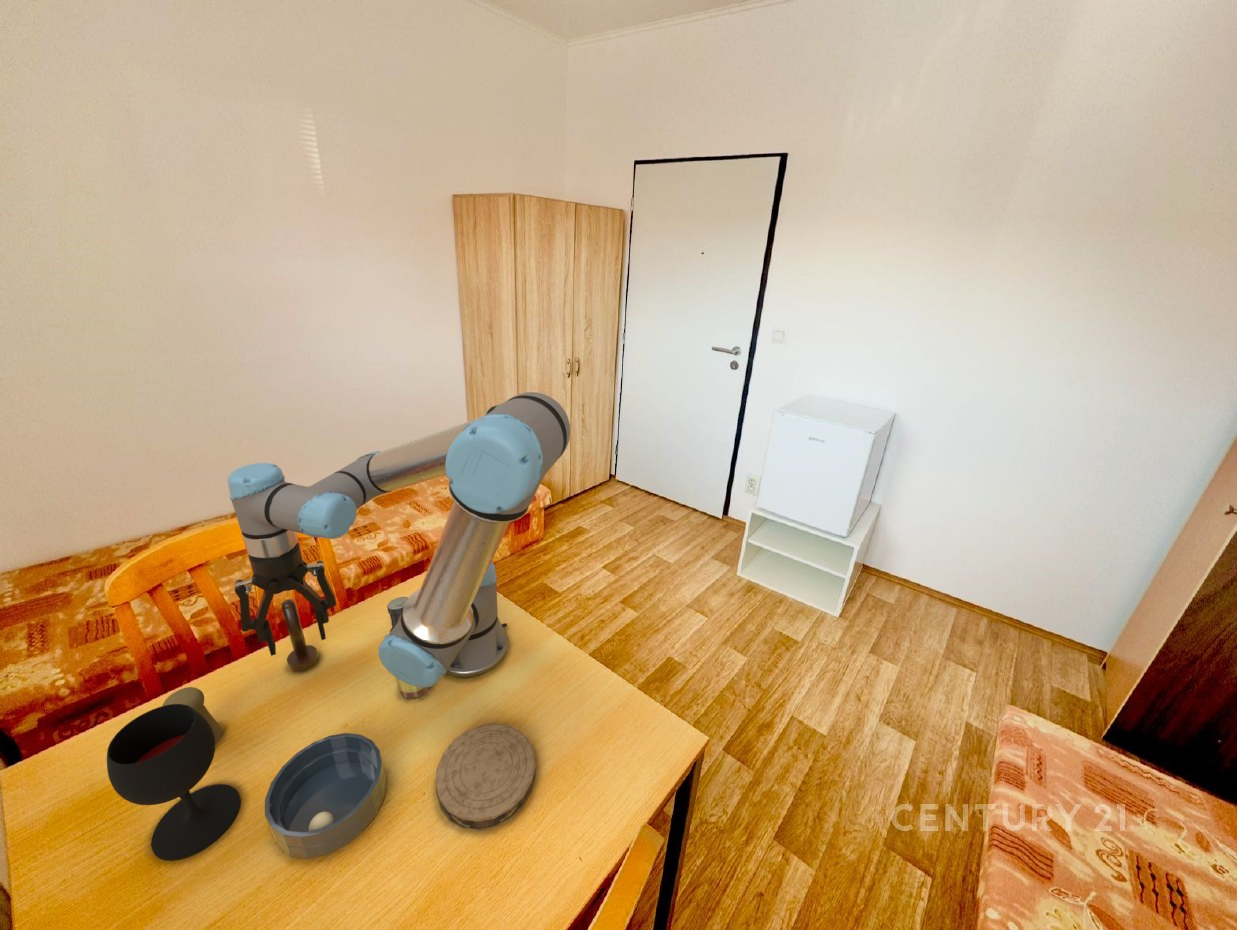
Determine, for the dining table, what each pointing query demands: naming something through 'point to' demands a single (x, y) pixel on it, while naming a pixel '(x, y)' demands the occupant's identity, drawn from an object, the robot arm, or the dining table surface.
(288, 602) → the brown rubber stamp
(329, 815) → the egg
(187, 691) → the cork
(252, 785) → the dining table surface
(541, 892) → the dining table surface
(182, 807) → the wine glass
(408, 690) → the sauce bottle
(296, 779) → the bowl
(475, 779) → the tin can
